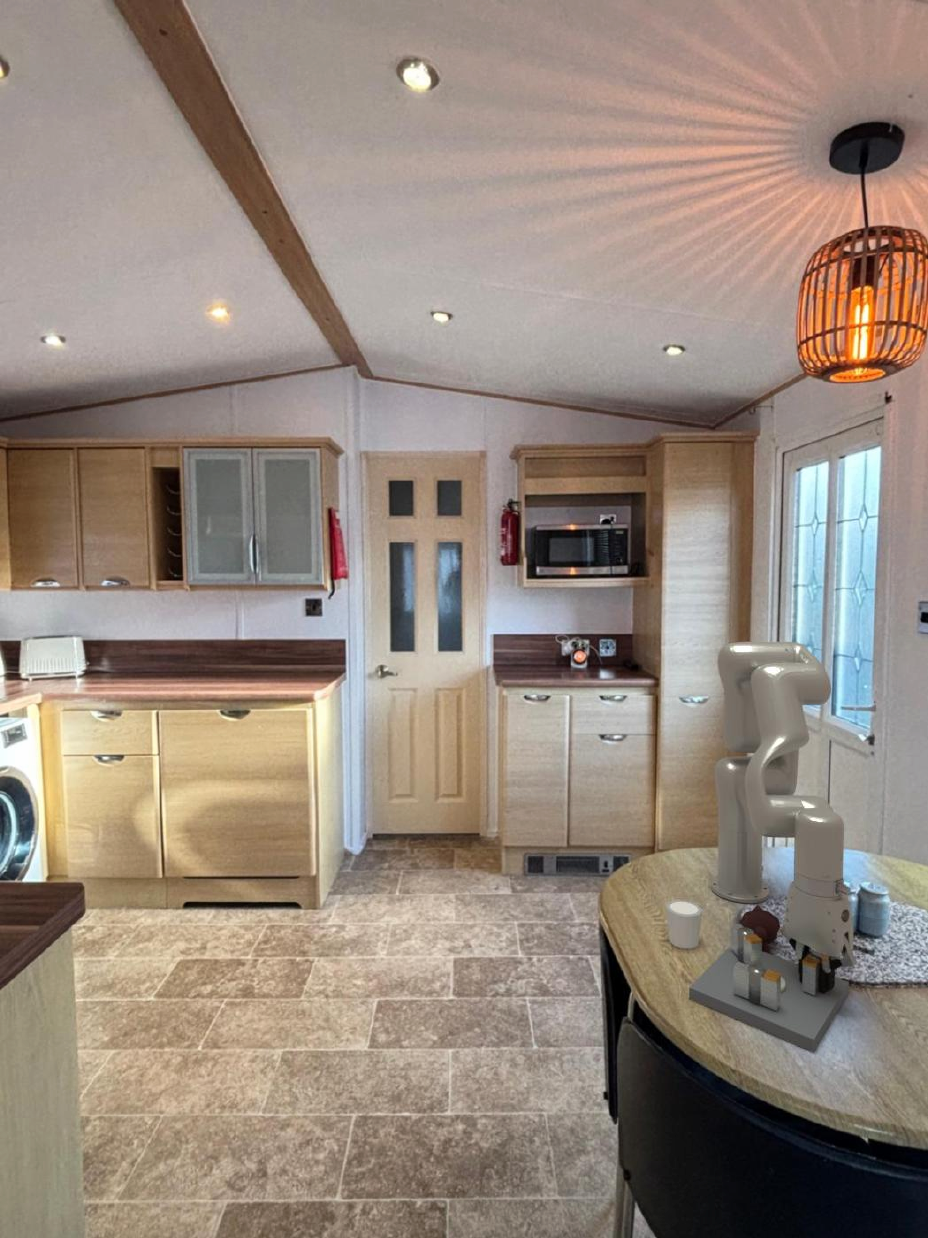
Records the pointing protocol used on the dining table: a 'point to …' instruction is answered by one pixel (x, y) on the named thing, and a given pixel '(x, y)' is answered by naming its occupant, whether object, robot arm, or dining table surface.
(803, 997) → the plate
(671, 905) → the white cylinder
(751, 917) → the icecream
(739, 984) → the grey blocks with cylinder
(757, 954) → the grey upright block
